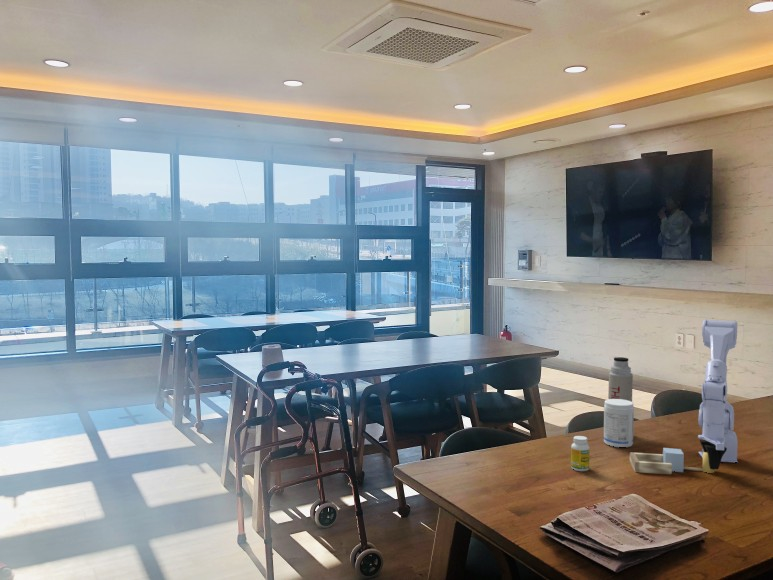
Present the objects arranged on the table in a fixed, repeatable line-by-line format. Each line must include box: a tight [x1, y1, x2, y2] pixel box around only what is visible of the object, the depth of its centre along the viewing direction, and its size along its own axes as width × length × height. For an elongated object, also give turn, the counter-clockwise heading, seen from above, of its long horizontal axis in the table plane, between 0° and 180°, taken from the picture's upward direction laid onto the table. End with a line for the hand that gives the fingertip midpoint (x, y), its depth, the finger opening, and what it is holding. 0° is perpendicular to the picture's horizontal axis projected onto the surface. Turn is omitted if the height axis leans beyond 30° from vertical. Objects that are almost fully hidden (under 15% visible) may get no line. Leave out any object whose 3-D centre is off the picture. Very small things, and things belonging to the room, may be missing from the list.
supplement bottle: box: [570, 435, 591, 472], centre depth 190 cm, size 5×5×10 cm
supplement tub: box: [603, 399, 635, 448], centre depth 214 cm, size 10×10×15 cm
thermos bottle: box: [607, 356, 634, 402], centre depth 224 cm, size 8×8×28 cm
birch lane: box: [629, 452, 673, 475], centre depth 191 cm, size 10×9×3 cm
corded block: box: [662, 447, 715, 474], centre depth 189 cm, size 14×5×6 cm, turn 74°
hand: (712, 466), depth 188 cm, fingers closed on corded block, 3 cm apart
